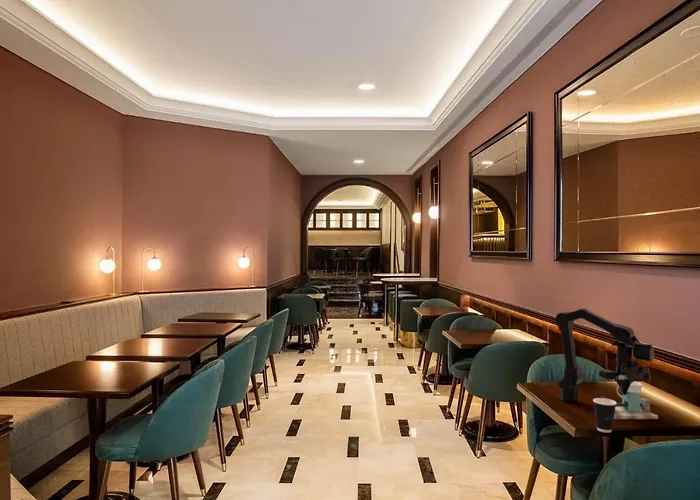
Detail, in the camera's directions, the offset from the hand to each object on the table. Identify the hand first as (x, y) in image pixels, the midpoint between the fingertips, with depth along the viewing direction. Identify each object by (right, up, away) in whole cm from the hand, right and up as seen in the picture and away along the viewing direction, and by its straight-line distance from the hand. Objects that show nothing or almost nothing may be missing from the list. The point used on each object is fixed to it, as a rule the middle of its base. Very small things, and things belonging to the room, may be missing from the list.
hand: (624, 395), depth 208 cm
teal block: (+3, -6, 0) cm, 7 cm away
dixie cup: (-18, -8, -20) cm, 28 cm away
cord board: (+1, -8, 0) cm, 8 cm away
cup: (+12, -8, +18) cm, 23 cm away
